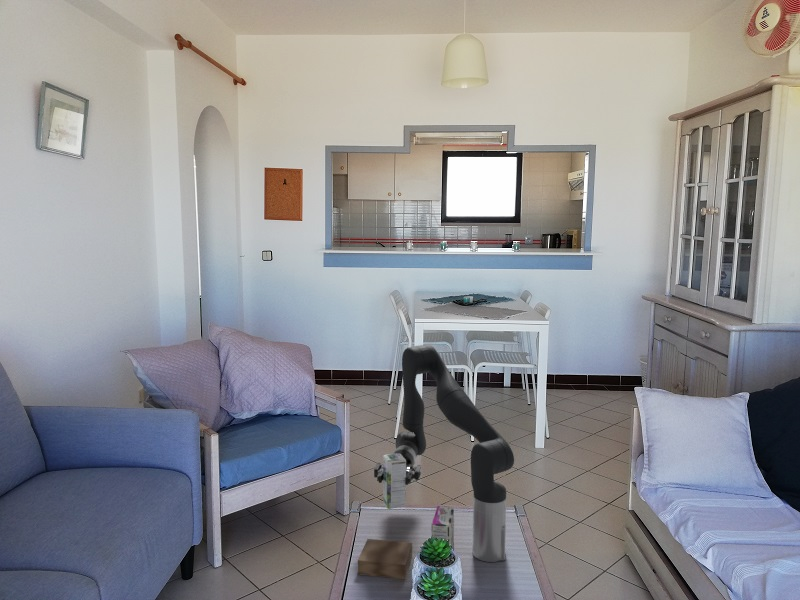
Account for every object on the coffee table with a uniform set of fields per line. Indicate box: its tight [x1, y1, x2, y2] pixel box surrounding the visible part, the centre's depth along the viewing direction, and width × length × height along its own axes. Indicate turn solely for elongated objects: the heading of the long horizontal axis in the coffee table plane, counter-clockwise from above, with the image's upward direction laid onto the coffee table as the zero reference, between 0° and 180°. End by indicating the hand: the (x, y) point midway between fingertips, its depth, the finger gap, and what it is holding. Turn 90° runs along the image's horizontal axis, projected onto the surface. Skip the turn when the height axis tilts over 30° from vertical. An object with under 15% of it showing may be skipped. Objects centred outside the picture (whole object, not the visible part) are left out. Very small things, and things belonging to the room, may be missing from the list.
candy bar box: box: [431, 505, 455, 552], centre depth 167 cm, size 11×5×16 cm, turn 168°
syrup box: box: [382, 453, 407, 510], centre depth 182 cm, size 6×6×14 cm
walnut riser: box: [357, 538, 413, 580], centre depth 171 cm, size 13×12×4 cm
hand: (393, 480), depth 180 cm, fingers closed on syrup box, 7 cm apart
